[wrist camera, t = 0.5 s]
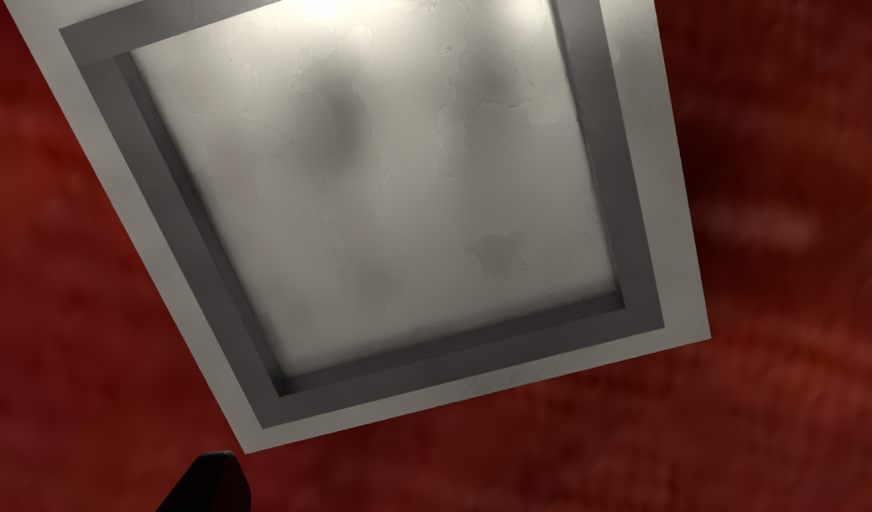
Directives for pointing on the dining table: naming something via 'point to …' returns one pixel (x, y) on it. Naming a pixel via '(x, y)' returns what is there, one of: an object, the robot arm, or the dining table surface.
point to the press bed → (385, 191)
